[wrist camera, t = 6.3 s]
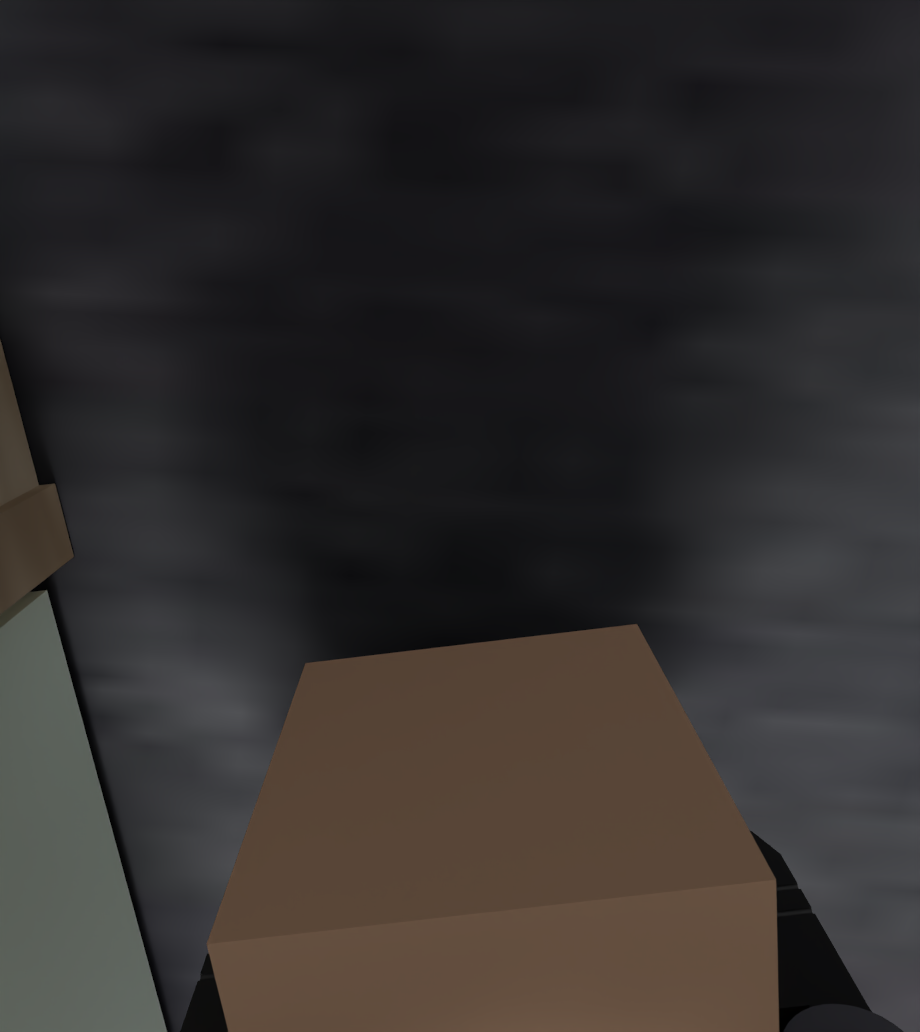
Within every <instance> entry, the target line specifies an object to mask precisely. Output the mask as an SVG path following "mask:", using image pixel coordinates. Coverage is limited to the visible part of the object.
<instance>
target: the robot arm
mask: <svg viewBox="0 0 920 1032" xmlns="http://www.w3.org/2000/svg"><path fill="white" fill-rule="evenodd" d="M750 833H751V834H752V836H753V838H754V840H755V842H756V844H757V845H758V847H759V849H760V851H761V853H762V855H763V856H764V858H765V860H766V862H767V864H768V866H769V867H770V869H771V871H772V873H773V875H774V877H775V878H776V896H777V947H778V998H779V1032H903V1031H902V1030H901V1029H899V1028H898V1027H897V1026H896V1025H894V1024H893V1023H891V1022H890V1021H888V1020H886V1019H885V1018H883V1017H881V1016H879V1015H877V1014H875V1013H873V1012H872V1011H871V1010H870V1008H869V1007H868V1005H867V1004H866V1002H865V1000H864V998H863V997H862V995H861V993H860V991H859V990H858V988H857V986H856V984H855V983H854V981H853V979H852V977H851V976H850V974H849V972H848V971H847V969H846V967H845V965H844V964H843V962H842V960H841V958H840V957H839V955H838V953H837V951H836V950H835V948H834V946H833V944H832V943H831V941H830V939H829V938H828V936H827V934H826V932H825V931H824V929H823V927H822V925H821V924H820V922H819V920H818V918H817V917H816V915H815V914H813V913H812V910H811V906H810V904H809V903H808V901H807V899H806V898H805V896H804V894H803V892H802V891H801V889H798V885H797V882H796V880H795V878H794V877H793V875H792V873H791V871H790V870H789V868H788V866H787V865H786V863H785V861H784V859H783V858H782V856H781V854H780V853H778V852H777V851H776V850H775V849H773V848H772V847H771V846H770V845H768V844H767V843H766V842H764V841H763V840H762V839H761V838H759V837H758V836H757V835H756V834H754V833H753V832H752V831H750ZM200 975H201V979H200V981H198V982H197V985H196V988H195V991H194V994H193V997H192V1000H191V1002H190V1005H189V1008H188V1011H187V1014H186V1017H185V1020H184V1023H183V1026H182V1029H181V1031H180V1032H228V1028H227V1024H226V1020H225V1016H224V1012H223V1008H222V1004H221V1000H220V996H219V992H218V988H217V984H216V980H215V976H214V972H213V968H212V964H211V959H210V955H209V954H207V956H206V959H205V962H204V965H203V968H202V971H201V974H200Z"/></svg>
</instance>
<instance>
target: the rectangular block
mask: <svg viewBox="0 0 920 1032" xmlns="http://www.w3.org/2000/svg"><path fill="white" fill-rule="evenodd" d="M207 947H208V951H209V955H210V959H211V964H212V968H213V972H214V976H215V980H216V984H217V988H218V992H219V996H220V1000H221V1004H222V1008H223V1012H224V1016H225V1020H226V1024H227V1028H228V1032H779V998H778V947H777V896H776V878H775V877H774V875H773V873H772V871H771V869H770V867H769V866H768V864H767V862H766V860H765V858H764V856H763V855H762V853H761V851H760V849H759V847H758V845H757V844H756V842H755V840H754V838H753V836H752V834H751V833H750V831H749V829H748V827H747V825H746V823H745V822H744V820H743V818H742V816H741V814H740V812H739V811H738V809H737V807H736V805H735V803H734V801H733V799H732V798H731V796H730V794H729V792H728V790H727V788H726V787H725V785H724V783H723V781H722V779H721V777H720V776H719V774H718V772H717V770H716V768H715V766H714V765H713V763H712V761H711V759H710V757H709V755H708V754H707V752H706V750H705V748H704V746H703V744H702V743H701V741H700V739H699V737H698V735H697V733H696V732H695V730H694V728H693V726H692V724H691V722H690V721H689V719H688V717H687V715H686V713H685V711H684V710H683V708H682V706H681V704H680V702H679V700H678V699H677V697H676V695H675V693H674V691H673V689H672V687H671V686H670V684H669V682H668V680H667V678H666V676H665V675H664V673H663V671H662V669H661V667H660V665H659V664H658V662H657V660H656V658H655V656H654V654H653V653H652V651H651V649H650V647H649V645H648V643H647V642H646V640H645V638H644V636H643V634H642V632H641V631H640V629H639V627H638V625H637V624H632V625H624V626H615V627H607V628H598V629H590V630H582V631H573V632H565V633H556V634H548V635H539V636H531V637H522V638H514V639H505V640H497V641H488V642H480V643H472V644H463V645H455V646H446V647H438V648H429V649H421V650H412V651H404V652H395V653H387V654H379V655H370V656H362V657H353V658H345V659H336V660H328V661H319V662H311V663H305V666H304V669H303V672H302V674H301V677H300V680H299V683H298V686H297V689H296V691H295V694H294V697H293V700H292V703H291V706H290V709H289V711H288V714H287V717H286V720H285V723H284V726H283V728H282V731H281V734H280V737H279V740H278V743H277V746H276V748H275V751H274V754H273V757H272V760H271V763H270V765H269V768H268V771H267V774H266V777H265V780H264V783H263V785H262V788H261V791H260V794H259V797H258V800H257V802H256V805H255V808H254V811H253V814H252V817H251V820H250V822H249V825H248V828H247V831H246V834H245V837H244V839H243V842H242V845H241V848H240V851H239V854H238V857H237V859H236V862H235V865H234V868H233V871H232V874H231V876H230V879H229V882H228V885H227V888H226V891H225V893H224V896H223V899H222V902H221V905H220V908H219V911H218V913H217V916H216V919H215V922H214V925H213V928H212V930H211V933H210V936H209V939H208V942H207Z"/></svg>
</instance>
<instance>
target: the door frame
mask: <svg viewBox="0 0 920 1032" xmlns="http://www.w3.org/2000/svg"><path fill="white" fill-rule="evenodd" d="M73 557H74V555H73V551H72V547H71V543H70V539H69V535H68V532H67V528H66V524H65V520H64V516H63V512H62V508H61V505H60V501H59V497H58V493H57V489H56V485H55V483H54V484H46V485H39V484H38V480H37V476H36V472H35V468H34V465H33V461H32V457H31V453H30V450H29V446H28V442H27V438H26V434H25V431H24V427H23V423H22V419H21V416H20V412H19V408H18V404H17V400H16V397H15V393H14V389H13V385H12V382H11V378H10V374H9V370H8V366H7V363H6V359H5V355H4V351H3V348H2V344H1V340H0V615H1V614H2V613H3V612H4V611H6V610H7V609H8V608H9V607H11V606H12V605H13V604H14V603H16V602H17V601H18V600H20V599H21V598H22V597H23V596H25V595H26V594H27V593H28V592H30V591H31V590H32V589H34V588H35V587H36V586H37V585H39V584H40V583H41V582H42V581H44V580H45V579H46V578H47V577H49V576H50V575H51V574H53V573H54V572H55V571H56V570H58V569H59V568H60V567H61V566H63V565H64V564H65V563H67V562H68V561H69V560H70V559H72V558H73Z"/></svg>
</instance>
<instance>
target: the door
mask: <svg viewBox="0 0 920 1032" xmlns="http://www.w3.org/2000/svg"><path fill="white" fill-rule="evenodd" d="M0 1032H167V1030H166V1026H165V1022H164V1019H163V1015H162V1011H161V1008H160V1004H159V1000H158V997H157V993H156V989H155V986H154V982H153V978H152V975H151V971H150V967H149V963H148V960H147V956H146V952H145V949H144V945H143V941H142V938H141V934H140V930H139V927H138V923H137V919H136V916H135V912H134V908H133V905H132V901H131V897H130V894H129V890H128V886H127V883H126V879H125V875H124V872H123V868H122V864H121V860H120V857H119V853H118V849H117V846H116V842H115V838H114V835H113V831H112V827H111V824H110V820H109V816H108V813H107V809H106V805H105V802H104V798H103V794H102V791H101V787H100V783H99V780H98V776H97V772H96V769H95V765H94V761H93V758H92V754H91V750H90V746H89V743H88V739H87V735H86V732H85V728H84V724H83V721H82V717H81V713H80V710H79V706H78V702H77V699H76V695H75V691H74V688H73V684H72V680H71V677H70V673H69V669H68V666H67V662H66V658H65V655H64V651H63V647H62V644H61V640H60V636H59V632H58V629H57V625H56V621H55V618H54V614H53V610H52V607H51V603H50V599H49V596H48V592H47V590H43V591H34V592H28V593H27V594H26V595H25V596H23V597H22V598H21V599H20V600H18V601H17V602H16V603H14V604H13V605H12V606H11V607H9V608H8V609H7V610H6V611H4V612H3V613H2V614H1V615H0Z"/></svg>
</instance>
